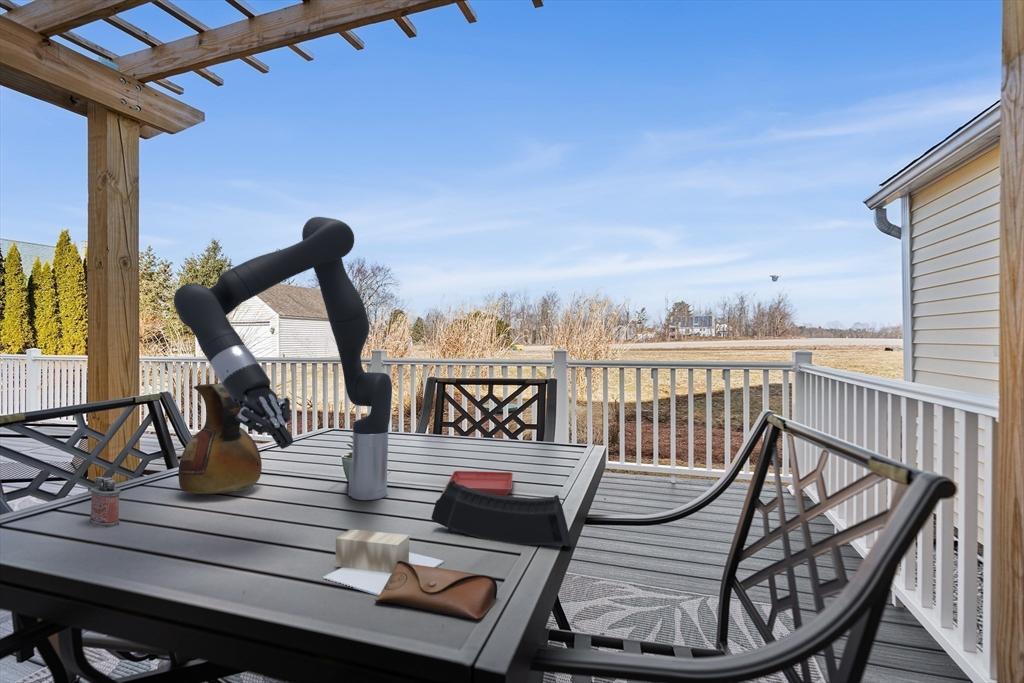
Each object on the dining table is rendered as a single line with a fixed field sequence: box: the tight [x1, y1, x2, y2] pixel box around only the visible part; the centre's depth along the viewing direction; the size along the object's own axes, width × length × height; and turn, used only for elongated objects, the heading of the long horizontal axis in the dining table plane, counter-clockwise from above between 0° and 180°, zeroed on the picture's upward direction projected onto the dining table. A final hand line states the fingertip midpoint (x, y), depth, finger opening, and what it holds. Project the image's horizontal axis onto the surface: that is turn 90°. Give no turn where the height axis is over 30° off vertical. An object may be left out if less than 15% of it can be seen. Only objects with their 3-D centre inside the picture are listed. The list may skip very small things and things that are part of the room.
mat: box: [322, 551, 445, 597], centre depth 92 cm, size 14×16×1 cm
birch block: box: [334, 529, 410, 573], centre depth 94 cm, size 5×5×12 cm
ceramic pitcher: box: [177, 382, 263, 495], centre depth 139 cm, size 20×20×30 cm
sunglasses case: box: [374, 561, 498, 620], centre depth 81 cm, size 18×7×7 cm
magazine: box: [430, 480, 572, 547], centre depth 108 cm, size 17×3×30 cm
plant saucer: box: [446, 470, 514, 496], centre depth 148 cm, size 18×18×3 cm
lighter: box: [89, 476, 121, 529], centre depth 113 cm, size 8×3×10 cm, turn 65°
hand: (288, 445), depth 100 cm, fingers closed
